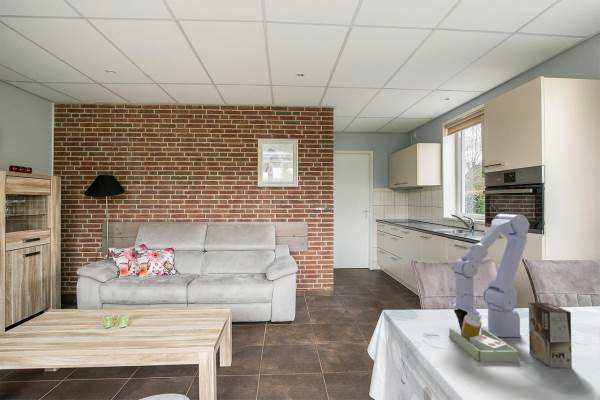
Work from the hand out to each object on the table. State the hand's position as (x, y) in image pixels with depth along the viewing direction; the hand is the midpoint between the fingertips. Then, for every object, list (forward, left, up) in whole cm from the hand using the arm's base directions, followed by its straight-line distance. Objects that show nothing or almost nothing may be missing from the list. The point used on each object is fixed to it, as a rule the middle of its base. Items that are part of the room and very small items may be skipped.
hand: (464, 330), depth 110 cm
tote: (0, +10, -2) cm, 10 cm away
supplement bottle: (0, +3, -1) cm, 3 cm away
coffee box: (-16, +18, -2) cm, 24 cm away
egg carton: (0, +13, -2) cm, 13 cm away
